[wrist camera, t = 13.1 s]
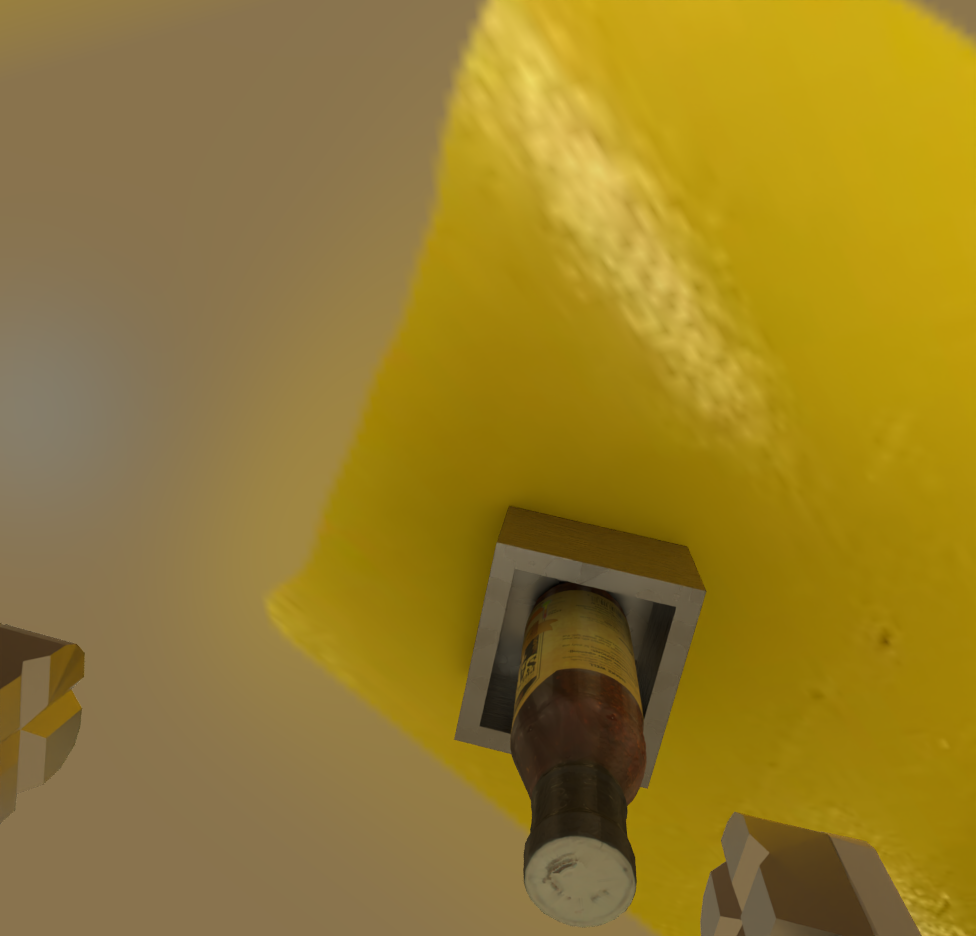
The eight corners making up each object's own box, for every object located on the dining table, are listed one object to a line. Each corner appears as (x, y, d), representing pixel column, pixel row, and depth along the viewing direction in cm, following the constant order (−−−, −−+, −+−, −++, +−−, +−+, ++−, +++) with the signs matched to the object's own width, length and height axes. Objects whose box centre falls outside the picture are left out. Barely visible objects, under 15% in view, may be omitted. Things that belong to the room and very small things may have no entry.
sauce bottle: (520, 581, 45) (474, 795, 26) (624, 572, 44) (656, 787, 25) (534, 679, 46) (501, 951, 27) (635, 672, 45) (674, 949, 26)
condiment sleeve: (687, 547, 44) (706, 591, 37) (638, 719, 47) (647, 788, 40) (509, 505, 45) (496, 542, 38) (471, 678, 48) (454, 739, 41)
